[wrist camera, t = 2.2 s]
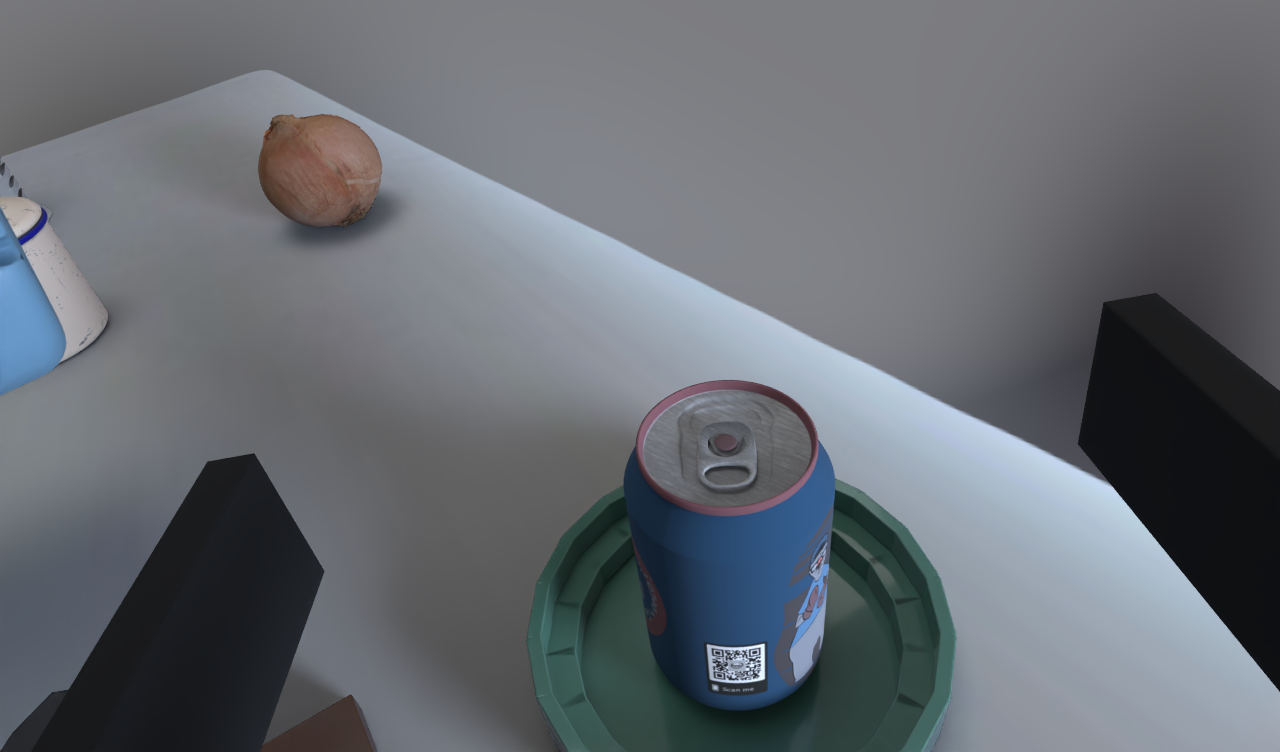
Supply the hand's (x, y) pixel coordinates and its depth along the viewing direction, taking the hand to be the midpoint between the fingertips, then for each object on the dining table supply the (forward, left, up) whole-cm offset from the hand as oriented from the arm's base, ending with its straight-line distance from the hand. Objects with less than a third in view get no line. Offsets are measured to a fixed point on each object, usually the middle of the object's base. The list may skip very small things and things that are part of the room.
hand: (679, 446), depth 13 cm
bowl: (-7, +6, -21) cm, 23 cm away
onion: (-58, +4, -21) cm, 62 cm away
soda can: (-7, +6, -21) cm, 23 cm away
